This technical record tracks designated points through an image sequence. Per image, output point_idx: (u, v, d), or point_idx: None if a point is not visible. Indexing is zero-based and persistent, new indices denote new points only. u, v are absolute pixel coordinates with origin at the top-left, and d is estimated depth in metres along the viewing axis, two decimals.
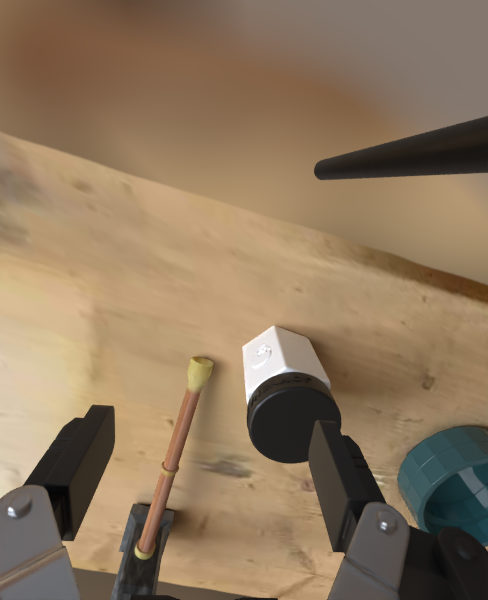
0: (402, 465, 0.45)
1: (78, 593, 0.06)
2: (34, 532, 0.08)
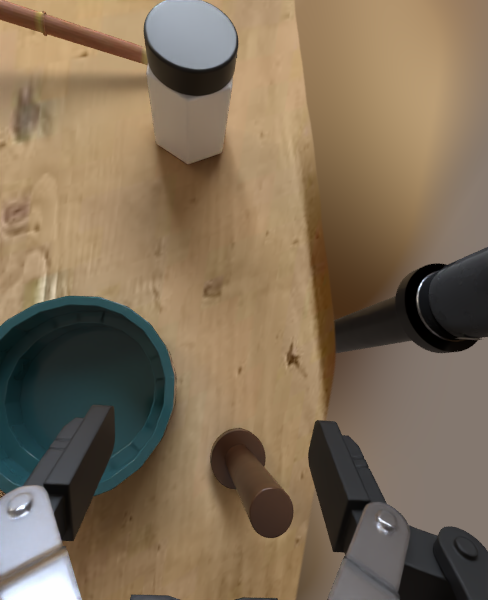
0: None
1: (78, 593, 0.06)
2: (34, 532, 0.08)
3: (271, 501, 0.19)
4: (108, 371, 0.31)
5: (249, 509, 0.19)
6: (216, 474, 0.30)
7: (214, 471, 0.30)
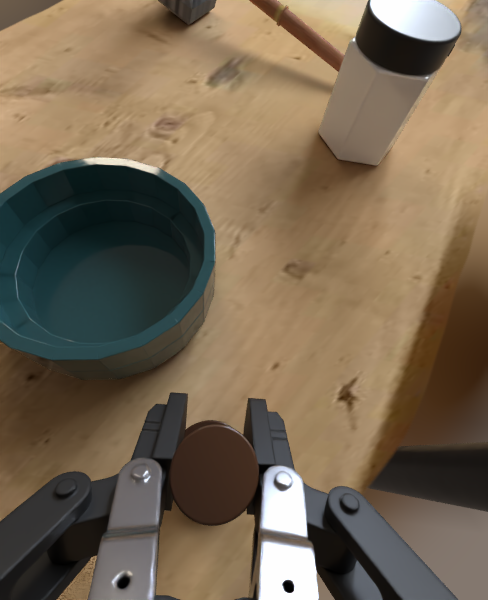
0: None
1: (153, 580, 0.07)
2: (160, 496, 0.09)
3: (225, 453, 0.10)
4: (143, 275, 0.27)
5: (183, 440, 0.10)
6: None
7: None
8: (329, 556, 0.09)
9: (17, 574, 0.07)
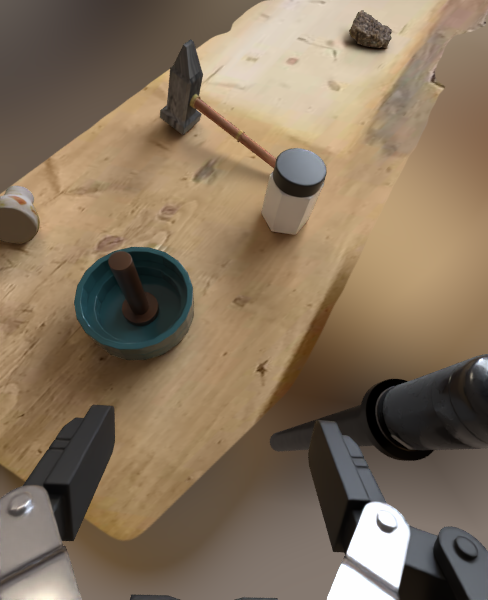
0: None
1: (78, 593, 0.06)
2: (34, 532, 0.08)
3: (123, 257, 0.37)
4: None
5: (112, 254, 0.38)
6: (123, 305, 0.48)
7: (123, 303, 0.49)
8: None
9: None
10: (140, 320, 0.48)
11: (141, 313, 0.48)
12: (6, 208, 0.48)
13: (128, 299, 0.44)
